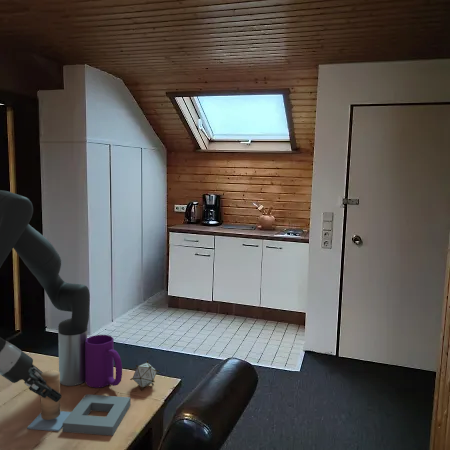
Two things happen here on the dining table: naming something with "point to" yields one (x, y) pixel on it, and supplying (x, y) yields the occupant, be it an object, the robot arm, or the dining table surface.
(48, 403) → the peg
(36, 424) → the pad
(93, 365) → the mug
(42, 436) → the dining table surface
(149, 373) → the game die
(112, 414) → the board
